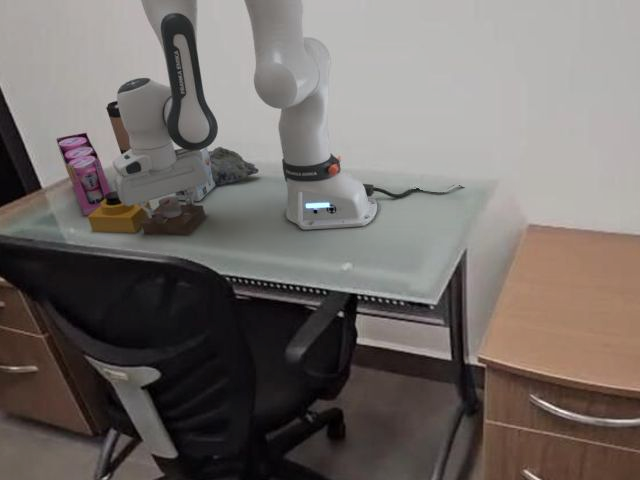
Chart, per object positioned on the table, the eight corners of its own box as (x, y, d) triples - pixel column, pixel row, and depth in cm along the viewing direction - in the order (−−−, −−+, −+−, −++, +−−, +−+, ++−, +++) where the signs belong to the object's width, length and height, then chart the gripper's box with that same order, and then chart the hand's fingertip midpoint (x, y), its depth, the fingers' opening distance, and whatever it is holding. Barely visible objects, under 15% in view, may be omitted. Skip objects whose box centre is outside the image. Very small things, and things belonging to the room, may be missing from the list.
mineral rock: (261, 177, 170) (255, 142, 164) (239, 193, 162) (231, 156, 156) (223, 171, 174) (215, 137, 168) (199, 187, 166) (190, 151, 160)
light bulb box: (200, 201, 158) (189, 162, 152) (175, 200, 159) (164, 161, 152) (217, 184, 166) (207, 146, 160) (194, 183, 167) (183, 145, 161)
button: (128, 199, 148) (125, 191, 147) (120, 206, 145) (117, 198, 143) (113, 198, 148) (110, 190, 147) (104, 205, 145) (101, 198, 144)
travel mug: (162, 172, 175) (142, 101, 163) (140, 182, 170) (117, 110, 158) (145, 167, 178) (123, 98, 166) (123, 176, 173) (99, 105, 161)
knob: (167, 209, 148) (163, 195, 146) (184, 209, 148) (180, 195, 146) (159, 217, 145) (155, 203, 142) (177, 218, 144) (173, 203, 142)
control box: (153, 215, 153) (146, 193, 149) (135, 232, 145) (127, 210, 142) (112, 214, 154) (104, 192, 150) (93, 231, 147) (84, 208, 143)
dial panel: (205, 216, 151) (202, 204, 150) (188, 235, 143) (184, 223, 142) (163, 215, 153) (160, 203, 151) (144, 234, 145) (140, 222, 143)
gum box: (118, 210, 156) (100, 159, 147) (85, 218, 152) (64, 167, 144) (103, 179, 172) (86, 131, 164) (73, 185, 169) (54, 138, 161)
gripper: (194, 140, 145) (207, 194, 153) (104, 162, 135) (124, 219, 143) (204, 147, 141) (217, 202, 149) (113, 171, 131) (132, 228, 139)
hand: (171, 210), depth 146 cm, fingers open, 8 cm apart
